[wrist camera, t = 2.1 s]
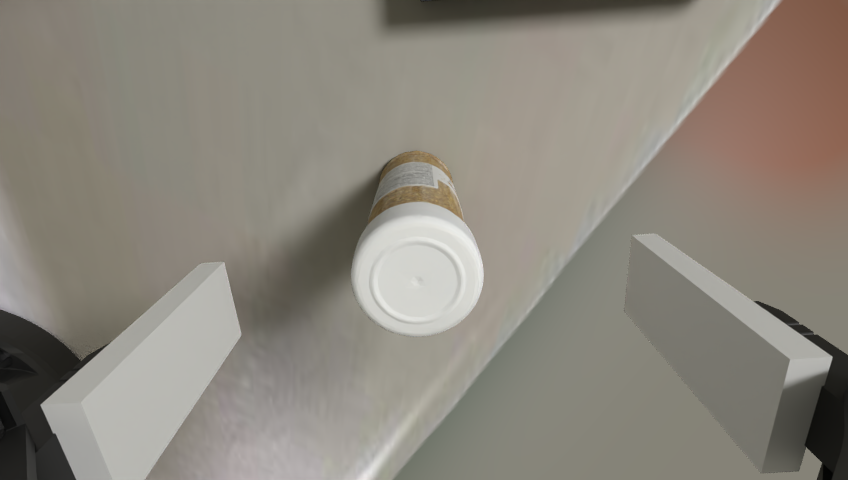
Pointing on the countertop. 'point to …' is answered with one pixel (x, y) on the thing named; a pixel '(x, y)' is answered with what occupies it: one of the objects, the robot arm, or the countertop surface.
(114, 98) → the countertop surface
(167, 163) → the countertop surface
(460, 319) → the sprinkles bottle
